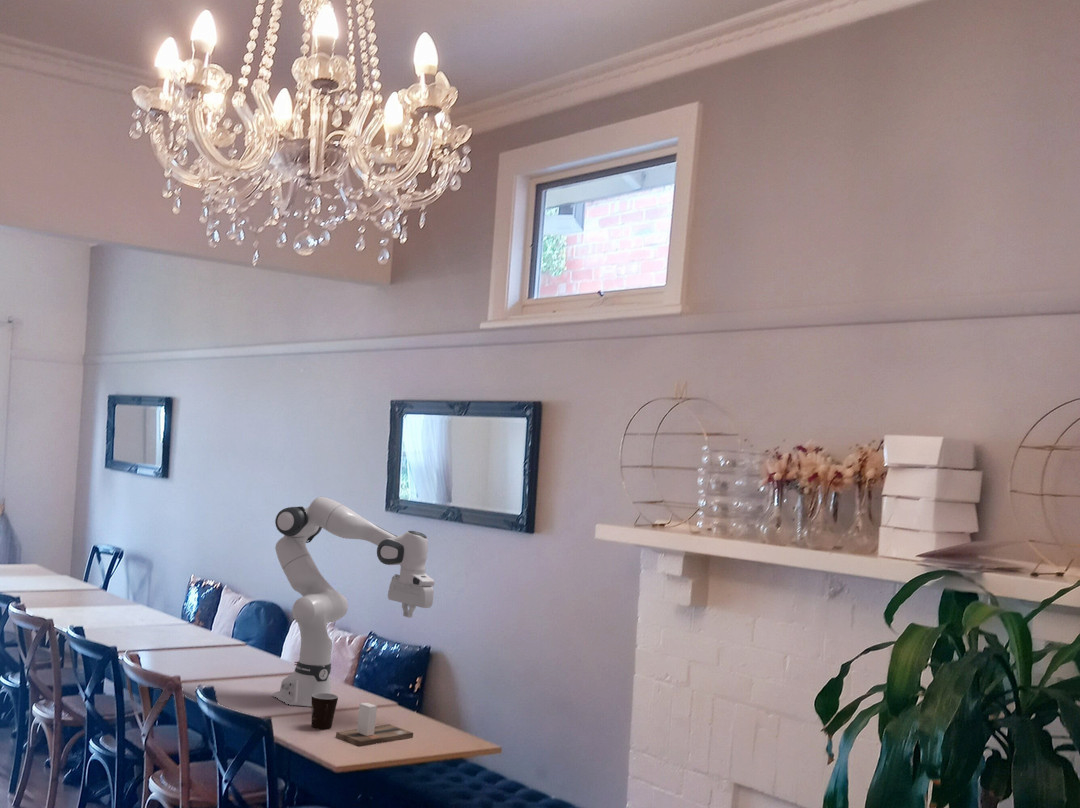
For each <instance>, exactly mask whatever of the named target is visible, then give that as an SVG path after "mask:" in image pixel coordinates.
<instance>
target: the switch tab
mask: <svg viewBox="0 0 1080 808" xmlns="http://www.w3.org/2000/svg"><path fill="white" fill-rule="evenodd" d="M358 708H359V710H358V717H357V724H356V725H357V726H356V729H357V733H360V734H363V735H365V736H369V735H374V730H375V726H376V719H377V710H378V706H377V705H376V704H372V703H369V702H362V703H359V707H358Z"/></svg>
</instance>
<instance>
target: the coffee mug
mask: <svg viewBox="0 0 1080 808" xmlns="http://www.w3.org/2000/svg"><path fill="white" fill-rule="evenodd" d="M338 699H339V696H338V695H336V694H334V693H331V694H328V693H316V694H312V707H311V728H312V729H315V730H320V731H321V730H323V731H324V730H331V729H332V725H333V721H334V716H335V713H336V709H337V704H338Z"/></svg>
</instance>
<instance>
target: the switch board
mask: <svg viewBox="0 0 1080 808" xmlns="http://www.w3.org/2000/svg"><path fill="white" fill-rule="evenodd" d="M335 733H336V734H335V737H336V738H337V739H340V740H343V741H346V742H348V743H350V744H353V745H356V746H358V747H363V746H364V747H365V746H370V745H376V743H377V744H382V742H383V743H388V741H389V742H394V741H398V740H399V741H400V740H406V739H411V738H412V739H413V738H414V732H413V731H409V730H407V729H405V728H404V729H403V728H400V727H398V726H395V725H392V724H390V723H389V724H382V725H375V730H374V735H369V736H365V735H363V734H360V733H357V728H356V729H354V728H353V729H349V730H348V729H347V730H343V731H336V732H335Z"/></svg>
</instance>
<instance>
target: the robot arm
mask: <svg viewBox="0 0 1080 808" xmlns="http://www.w3.org/2000/svg"><path fill="white" fill-rule="evenodd" d="M274 522H275V524H274V525H275V527H276V530H278V533H281V534H282V536H283V537H281V538H280V539H278V540H277V542H276V544H275V547H274V549H275V552H276V556H277V559H278V562H279V564H280V567H281V569H282V571H283V573H284V575H285V577H286V580H287V581H288V582H289V584H290V586H291V588H292V589H293V590H294V591H295V592H297V593H299V594H300V595H301V596H302V597H300V598H297V599H296V601H294V603H293V606H292V609H291V610H292V612H291V613H292V617H293V619H294V620H295V622H296V623H297V624H298V627H299V628H298V629H299V633H300V651H299V657H298V658H299V659H298V661H294V665H293V666H295V668H294V671H293V672H292V673H290V674H289V675H288V676H285V678H283V679H282V681H281V684H280V688H279V691H276V692H273V693H272V697H274V698H275V697H276V698H275V699H277V698H278V700H279V701H280V702H282V701H283V703H284V702H285V703H284V704H286V705H288V704H289V705H288V706H300V707H301V706H302V707H311V708H312V694H316V693H328V694H332V693H331V687H332V686H331V684H332V683H331V682H332V681H331V679H332V678H331V677H330V674H331V672H332V671H331V670H332V663H331V658H332V650H333V649H332V648H333V640H332V639H331V637H330V636H329V633H328V628H327V626H328V624H330V623H335V622H337V621H338V620H339V621H340V619H342V618H343V617H345V616H346V614H347V612H348V609H349V604H348V599H347V598H346V596H344V594H342V593H340V592H338V591H337V590H336V589H335V588H334V587H333V586H332V585H331V584H330V583H329V582H328V581H327V580H326V579H325V577H324V575H322V573H321V572H320V570H319V568H318V566H317V565H316V563H315V561H314V559H313V557H312V555H311V554H310V552H309V550H308V548H307V544H308V543H311V542H312V541H313V539H314V538H315V537H316V536H317V535H319V534H320V532H321V530H322V529H323V530H325V531H327V532H328V533H330V534H332V535H334V536H337V537H339V538H342V539H349V540H360V541H366V542H369V543H371V544H373V545H375V546H377V548H376V557H377V559H378V560H379V562H380V563H382V564H384V565H385V566H386V565H387V566H399V565H400V568H399V569H400V570H399V574H398V573H397V574H396V573H395V574H394V575H393V576H392V577H391V581H390V583H389V587H388V592H387V598H388V600H389V601H393V602H398V603H401V608H402V612H403V613H402V616H403V617H406V618H413V613H414V611H415V610H416V608H417V607H418V608H422V609H430V608H431V607H432V605H433V602H434V601H433V600H434V588H433V586H434V585H435V580H434V579H433V578H432V577H431V576H429V575H428V573H426V561H427V559H428V549H429V548H428V547H429V546H428V545H429V541H428V538H427V536H426V535H425V534H424V533H422V532H420V531H415V530H407V531H406V532H404V533H402V534H400V535H395V534H394V533H392V532H389V531H388V530H385V529H384V528H382V527H380V526H378V525H376V524H374V523H373V522H371V521H369V520H367V519H366V518H364V517H363V516H361V515H359V513H357V512H356V511H355V510H352V509H351V508H349V507H348V506H346V505H345V504H342V503H341V502H338V501H337V500H335V499H332V498H329V497H326V496H319V497H316V498H315V499H313V500H312V501H311V503H310V504H309V505H308V506H307V507H304V506H290V507H289V506H288V507H285V508H283V509H281V510H280V511H279V512H278V513H277V515H276V517H275V520H274Z"/></svg>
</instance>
